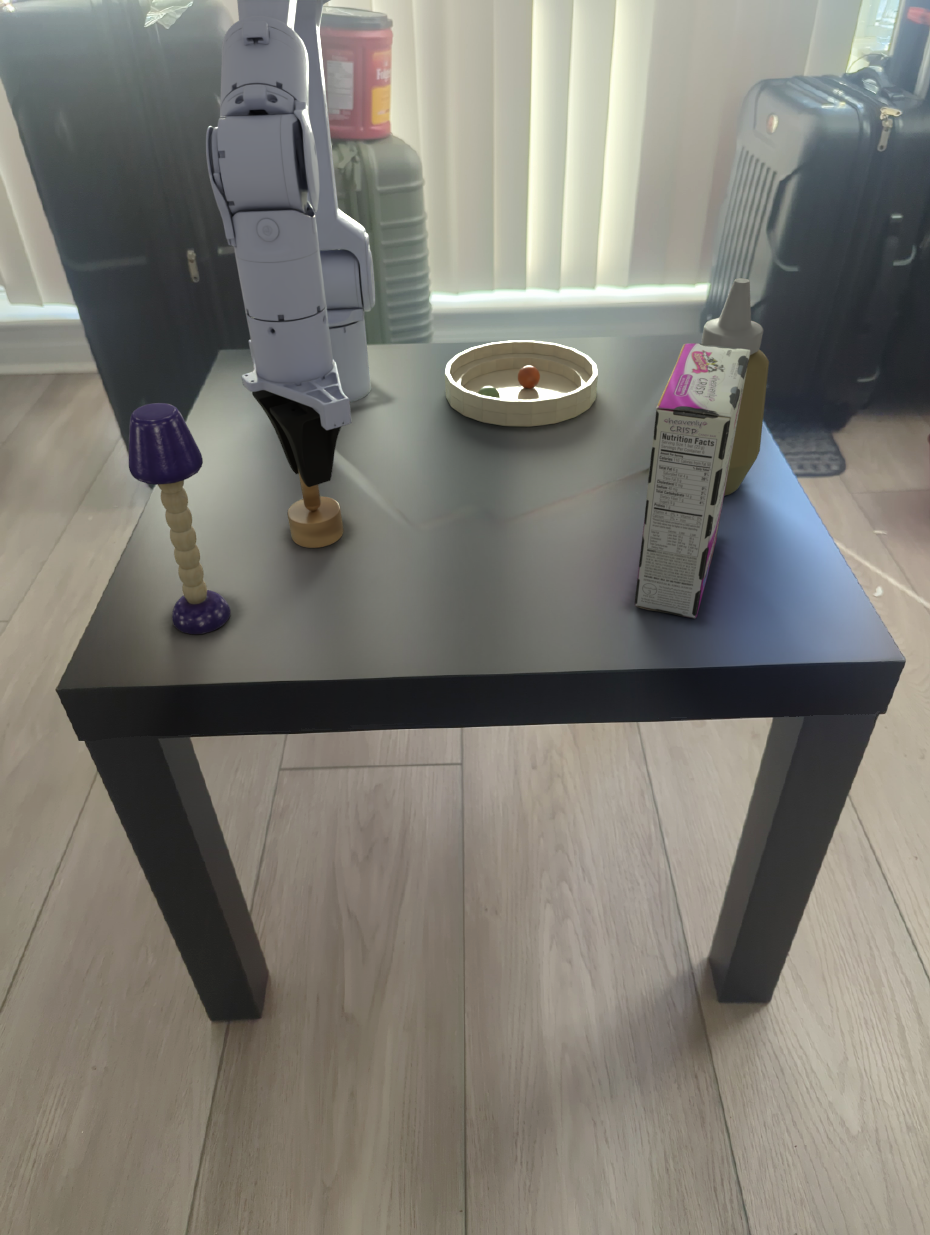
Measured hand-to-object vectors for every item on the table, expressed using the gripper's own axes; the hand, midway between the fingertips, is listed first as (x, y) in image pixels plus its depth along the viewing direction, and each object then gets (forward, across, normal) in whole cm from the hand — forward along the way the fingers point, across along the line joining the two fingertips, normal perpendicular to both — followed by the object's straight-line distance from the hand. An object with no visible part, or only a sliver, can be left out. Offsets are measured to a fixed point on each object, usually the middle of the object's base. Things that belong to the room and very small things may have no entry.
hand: (311, 475), depth 69 cm
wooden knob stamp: (+6, 0, 0) cm, 6 cm away
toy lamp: (+6, +6, -12) cm, 15 cm away
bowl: (+6, -12, +29) cm, 32 cm away
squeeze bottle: (+6, +12, +33) cm, 36 cm away
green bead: (+3, -10, +25) cm, 27 cm away
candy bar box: (+6, +21, +21) cm, 30 cm away
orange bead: (+3, -13, +31) cm, 34 cm away
